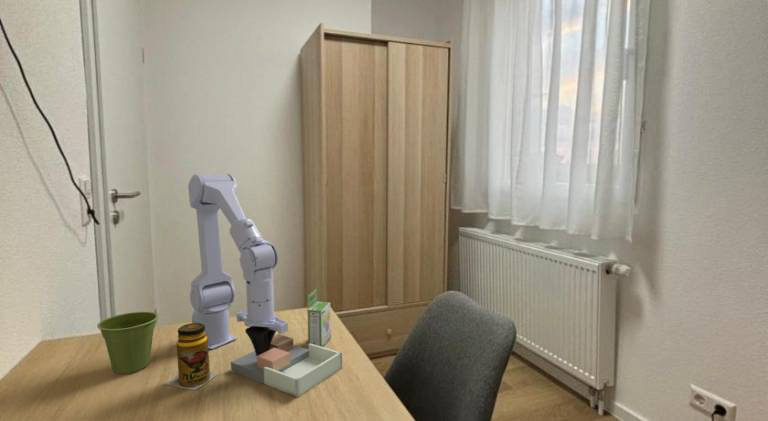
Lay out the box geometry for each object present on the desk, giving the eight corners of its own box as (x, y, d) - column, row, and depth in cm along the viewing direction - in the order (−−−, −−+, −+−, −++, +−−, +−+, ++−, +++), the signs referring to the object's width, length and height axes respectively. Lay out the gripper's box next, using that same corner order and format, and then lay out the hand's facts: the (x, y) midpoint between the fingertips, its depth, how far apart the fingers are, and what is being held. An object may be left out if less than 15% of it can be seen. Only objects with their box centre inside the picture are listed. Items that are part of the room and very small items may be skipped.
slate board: (231, 370, 93) (230, 361, 93) (278, 347, 105) (277, 340, 105) (264, 383, 87) (264, 374, 87) (310, 357, 99) (310, 349, 99)
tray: (264, 383, 87) (263, 367, 87) (310, 357, 99) (310, 343, 99) (297, 397, 82) (297, 379, 82) (342, 367, 94) (341, 352, 94)
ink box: (322, 348, 104) (321, 297, 103) (307, 347, 105) (306, 296, 103) (331, 337, 111) (330, 289, 109) (317, 336, 112) (316, 288, 110)
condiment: (195, 391, 85) (192, 334, 84) (162, 384, 87) (159, 330, 86) (219, 374, 92) (216, 321, 90) (188, 368, 94) (185, 318, 93)
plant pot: (169, 366, 96) (166, 318, 94) (109, 386, 87) (105, 334, 86) (151, 351, 104) (148, 307, 102) (94, 367, 95) (91, 320, 94)
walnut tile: (263, 351, 98) (262, 341, 98) (278, 343, 102) (278, 334, 102) (277, 356, 96) (277, 346, 95) (293, 348, 100) (293, 338, 99)
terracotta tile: (257, 366, 90) (256, 356, 90) (274, 358, 95) (274, 347, 94) (273, 373, 88) (272, 361, 88) (290, 363, 92) (290, 352, 92)
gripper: (224, 298, 92) (226, 356, 94) (269, 309, 84) (271, 373, 86) (249, 290, 98) (252, 345, 99) (294, 300, 90) (295, 359, 92)
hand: (262, 357), depth 93 cm, fingers closed
